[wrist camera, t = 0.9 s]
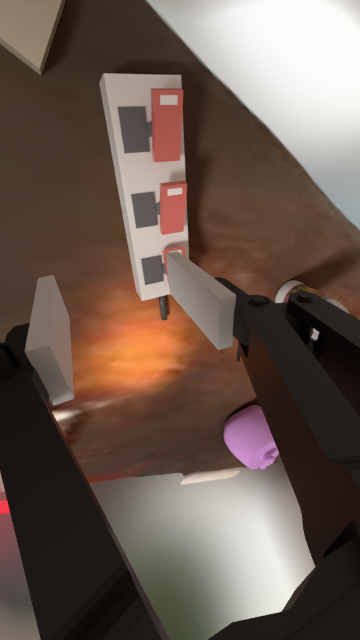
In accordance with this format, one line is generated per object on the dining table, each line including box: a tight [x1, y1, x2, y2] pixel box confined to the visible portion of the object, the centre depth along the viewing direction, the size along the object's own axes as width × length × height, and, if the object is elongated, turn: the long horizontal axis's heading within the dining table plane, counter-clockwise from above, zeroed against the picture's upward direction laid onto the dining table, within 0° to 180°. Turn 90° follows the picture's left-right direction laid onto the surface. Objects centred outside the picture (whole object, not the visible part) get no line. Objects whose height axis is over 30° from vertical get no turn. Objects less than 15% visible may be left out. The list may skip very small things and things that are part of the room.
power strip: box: [99, 73, 189, 320], centre depth 39 cm, size 9×35×5 cm, turn 4°
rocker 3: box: [162, 246, 186, 284], centre depth 39 cm, size 3×7×1 cm, turn 4°
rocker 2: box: [160, 181, 187, 235], centre depth 34 cm, size 3×7×1 cm, turn 4°
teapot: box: [224, 405, 279, 470], centre depth 80 cm, size 23×21×15 cm
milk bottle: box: [275, 280, 349, 333], centre depth 53 cm, size 8×8×20 cm
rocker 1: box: [151, 88, 183, 163], centre depth 29 cm, size 3×7×1 cm, turn 4°
